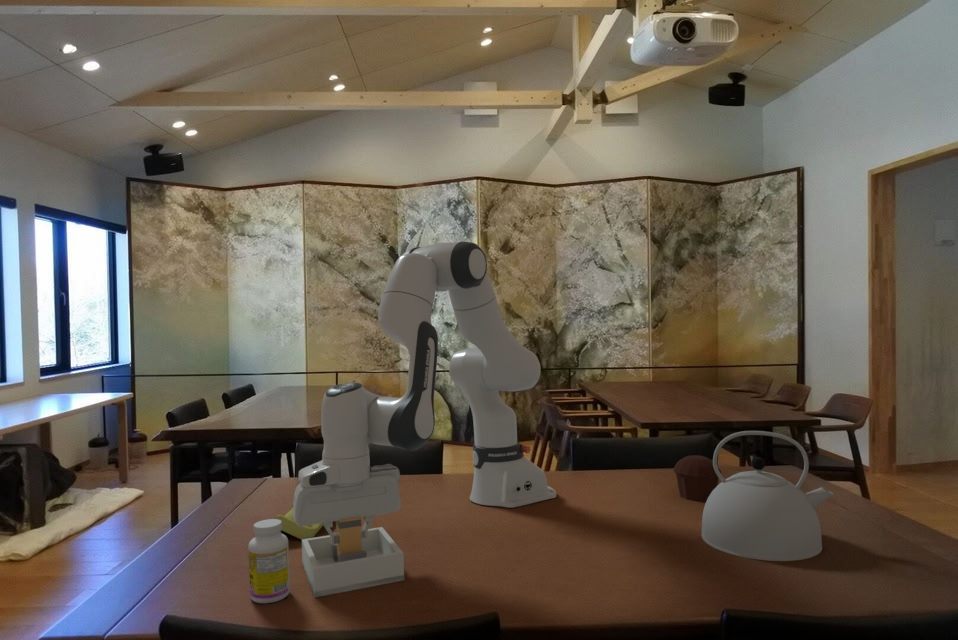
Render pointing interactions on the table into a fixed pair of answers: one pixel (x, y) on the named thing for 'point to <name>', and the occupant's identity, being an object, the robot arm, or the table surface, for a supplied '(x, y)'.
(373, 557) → the walled box
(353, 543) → the tan tall block
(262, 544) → the supplement bottle
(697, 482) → the muffin
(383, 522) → the table surface
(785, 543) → the kettle
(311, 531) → the plastic component
